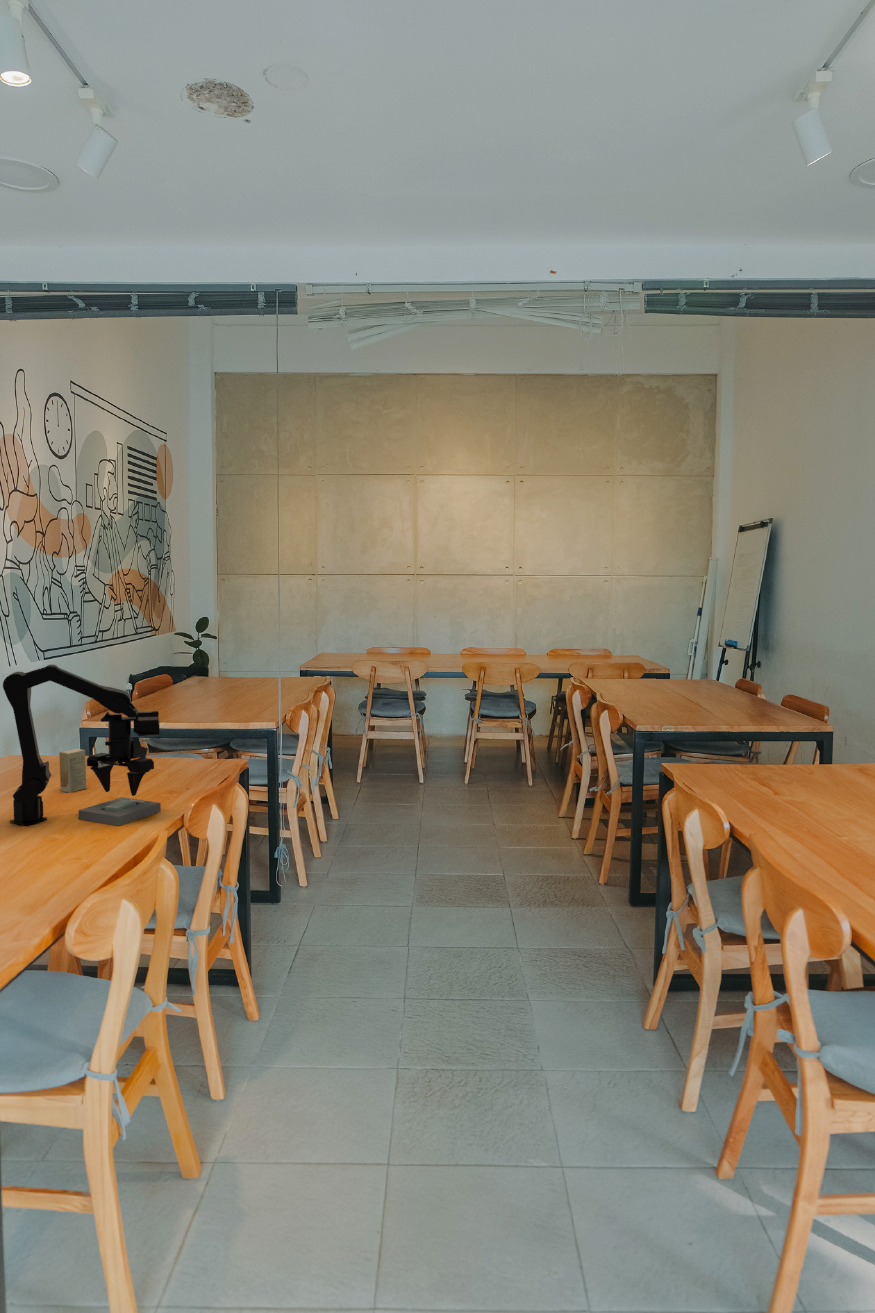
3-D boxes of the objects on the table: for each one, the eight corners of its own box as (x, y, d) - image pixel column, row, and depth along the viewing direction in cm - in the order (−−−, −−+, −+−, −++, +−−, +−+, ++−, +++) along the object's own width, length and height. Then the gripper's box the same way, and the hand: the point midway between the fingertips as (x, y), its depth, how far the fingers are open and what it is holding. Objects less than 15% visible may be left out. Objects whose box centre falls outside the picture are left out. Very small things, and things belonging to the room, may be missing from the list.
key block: (136, 813, 224) (135, 801, 224) (117, 821, 216) (117, 808, 216) (123, 812, 225) (123, 799, 225) (104, 819, 217) (104, 806, 217)
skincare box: (78, 787, 251) (77, 748, 250) (87, 789, 249) (86, 749, 248) (59, 791, 246) (58, 751, 245) (68, 793, 243) (67, 753, 242)
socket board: (119, 826, 211) (119, 816, 211) (78, 819, 216) (78, 809, 216) (160, 811, 225) (160, 802, 225) (121, 805, 231) (121, 796, 230)
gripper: (167, 735, 223) (168, 791, 224) (115, 729, 230) (116, 783, 231) (138, 742, 213) (139, 800, 214) (84, 735, 220) (85, 792, 221)
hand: (120, 793), depth 220 cm, fingers open, 9 cm apart
